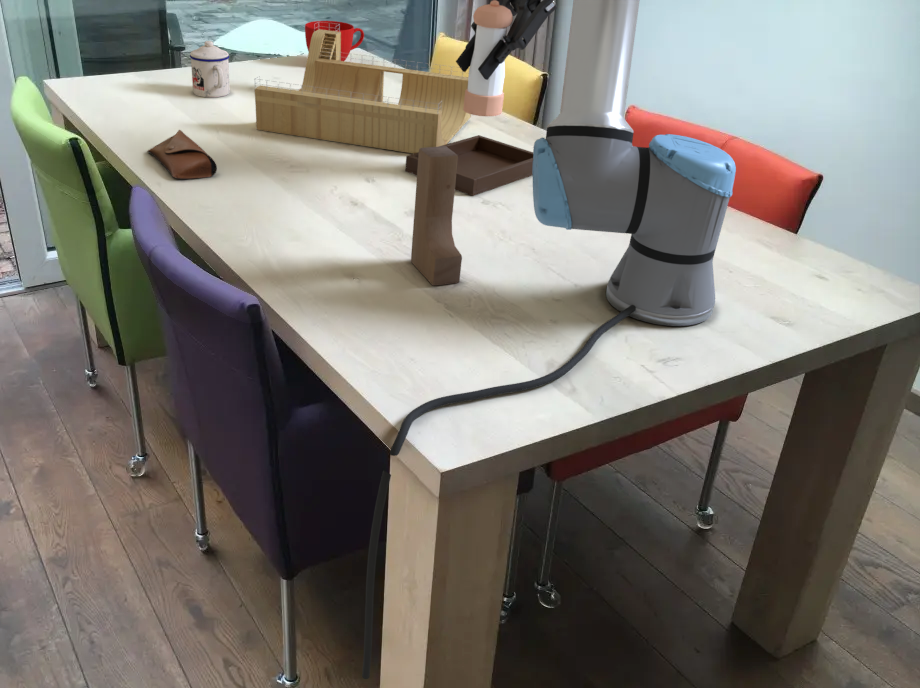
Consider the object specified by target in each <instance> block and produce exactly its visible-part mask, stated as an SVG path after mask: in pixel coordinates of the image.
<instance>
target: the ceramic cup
mask: <svg viewBox="0 0 920 688" xmlns="http://www.w3.org/2000/svg"><path fill="white" fill-rule="evenodd" d="M317 22H319V29H321V30H329V23H330V27H331V28H330V31H336V30H337V31H338V32H341V52H342V53H341V61H346V60H347V59H348V58H349V55H350V54H351V51H352V50H353V51H354V50H355V49H356V48H358V47H359V46H360V45H362V42H363V41H364V38H365V33H364V30H363V29H361V28H359V27H355V26H354V25H353V24H351V23H348V22H343V21H335V20H315V21H309V22H307V23H305V24H304V36H305V44H306V49H307V51H308V53H309V48H310V43H311V38H312V35H313V33H314V24H315V23H316V24H315V31H317V30H318V23H317ZM324 22H326V23H324ZM332 23H335V24H332ZM339 24H340V25H339ZM337 25H338V26H337ZM321 26H323V27H321ZM316 27H317V28H316ZM338 28H339V30H338ZM356 32H359V33H360V37H359V39H358V41H356V43H355V44H353V41H354V34H355V33H356ZM348 53H350V54H348ZM345 57H346V58H345Z"/></svg>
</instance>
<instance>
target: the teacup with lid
mask: <svg viewBox="0 0 920 688" xmlns="http://www.w3.org/2000/svg"><path fill="white" fill-rule="evenodd" d="M228 52H229V51H226V50H224V49H221V48H220V47H218V46H216V45H214V42H213V41H212V40H206V41H204V45H202V46H200V47H198V48H197V49H194V50H192V51H191V52H190V53H189V58H190V63H191V64H190V67H191V82H192V92H193V94H194V95H195V96H198V97H201V98H209V99H210V98H212V99H213V98H221V97H226V96H228V95H229V94H230V91H231V90H230V87H231V85H230V64H229V63H230V62H229V58H230V54H229V53H228Z"/></svg>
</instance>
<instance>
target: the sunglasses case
mask: <svg viewBox="0 0 920 688" xmlns="http://www.w3.org/2000/svg"><path fill="white" fill-rule="evenodd" d="M147 153H149V154H150V155H152V156H153V157H154V158H155V159H156V160H157V161H158V162H159V163H160V164H161V165H162V166H163V167H164V168H165V169H166V170H167V171H168V173H169V174H170V175H171V177H172V178H174V179H178V180H196V179H205V178H206V179H207V178H211V177H213V176H215V175H216V173H217V171H218V166H217V163H216V161H215V160H214V159H213V157H212V156H210V155H209V154H208V153H207V152H206V151H205V150H204V149H203V148H202V147H201V146H199V144H197V142H195V141H194V140H193V139H192V138H190V137H189V136H188V135H186V133H184V132H183V131H182V129H178V130H177V132H176V134H175V133H174V134H173V135H172V136H170V137H168V138H167V139H165V140H163V141H161V142H160V143H158V144H156V145H154V146H153V147H151V148H150V149H148V150H147Z"/></svg>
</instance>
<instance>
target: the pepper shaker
mask: <svg viewBox="0 0 920 688" xmlns="http://www.w3.org/2000/svg"><path fill="white" fill-rule="evenodd" d="M490 1H491V0H490ZM490 1H489V2H490ZM472 16H473V22H475V23H476V24H477V30H476V39H475V48H474V52H473V56H472V60H471V64H470V67H469V68H468V76H467V77H468V89H466V90H465V98H464V108H463V110H464V111H465V112H466V113H468V114H471V116H477V117H497V116H500V115H502V114H503V106H504V99H505V92H503V90H504V84H505V83H504V82H505V77H506V64H505V61H506V59H505V60H504V62H502V63H501V64H499V66H498V67H497V68H496V69H495V71H494V72H493V73H492V75H491V76H490V77H489V79H488V80H486V79H484V77H483V76H482V75H481V73H480V72H479V70H478V68H479V67H480V65H481V64H482V63H483V62H484V60H485V59H486V58H487V56H488V55H489V54H490V52H491V51H492V50H493V48H494V47H495V46H496V44H497V43H498V42H499V40H503V41H504V43H505V40H504V38H503V36H507V34H508V27H511V26H512V24H513V22H514V16H512V13H511V11H510V10H509V9H508V8H506V7H505V6H501V5H499V2H498V1H496V0H493V1H491V2H490V4H488V3H487V4H482V5H481V6H478V7H477V8H476V9H475V10H474V12H473V15H472Z"/></svg>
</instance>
